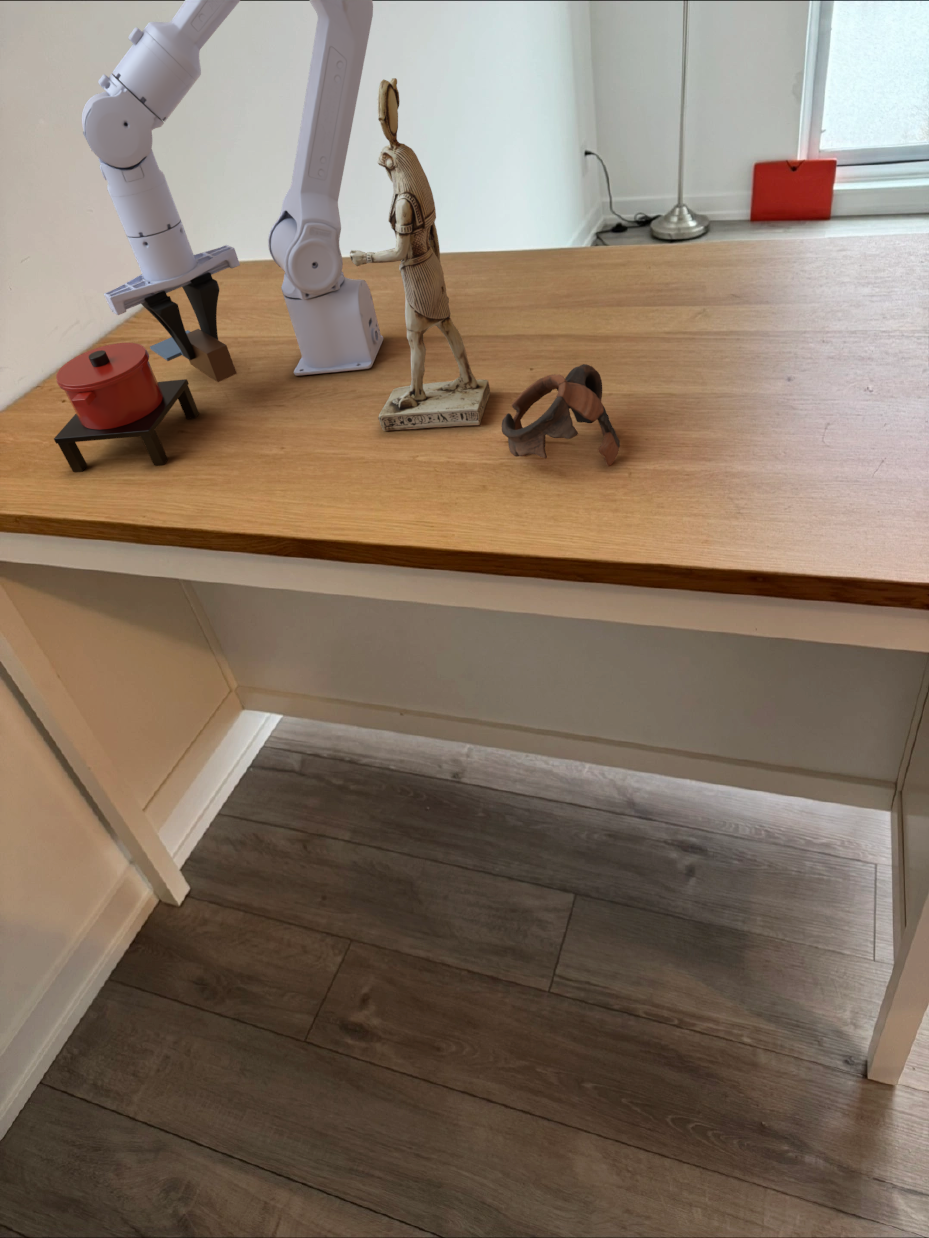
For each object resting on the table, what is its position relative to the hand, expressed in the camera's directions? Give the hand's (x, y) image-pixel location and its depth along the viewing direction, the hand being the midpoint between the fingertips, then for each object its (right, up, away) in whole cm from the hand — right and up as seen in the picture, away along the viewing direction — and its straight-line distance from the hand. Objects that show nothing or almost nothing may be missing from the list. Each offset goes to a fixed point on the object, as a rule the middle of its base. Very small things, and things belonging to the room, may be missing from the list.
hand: (202, 351), depth 98 cm
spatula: (-1, 0, +3) cm, 3 cm away
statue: (+27, -9, -7) cm, 29 cm away
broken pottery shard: (+39, -14, -17) cm, 45 cm away
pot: (-7, -10, -2) cm, 12 cm away
